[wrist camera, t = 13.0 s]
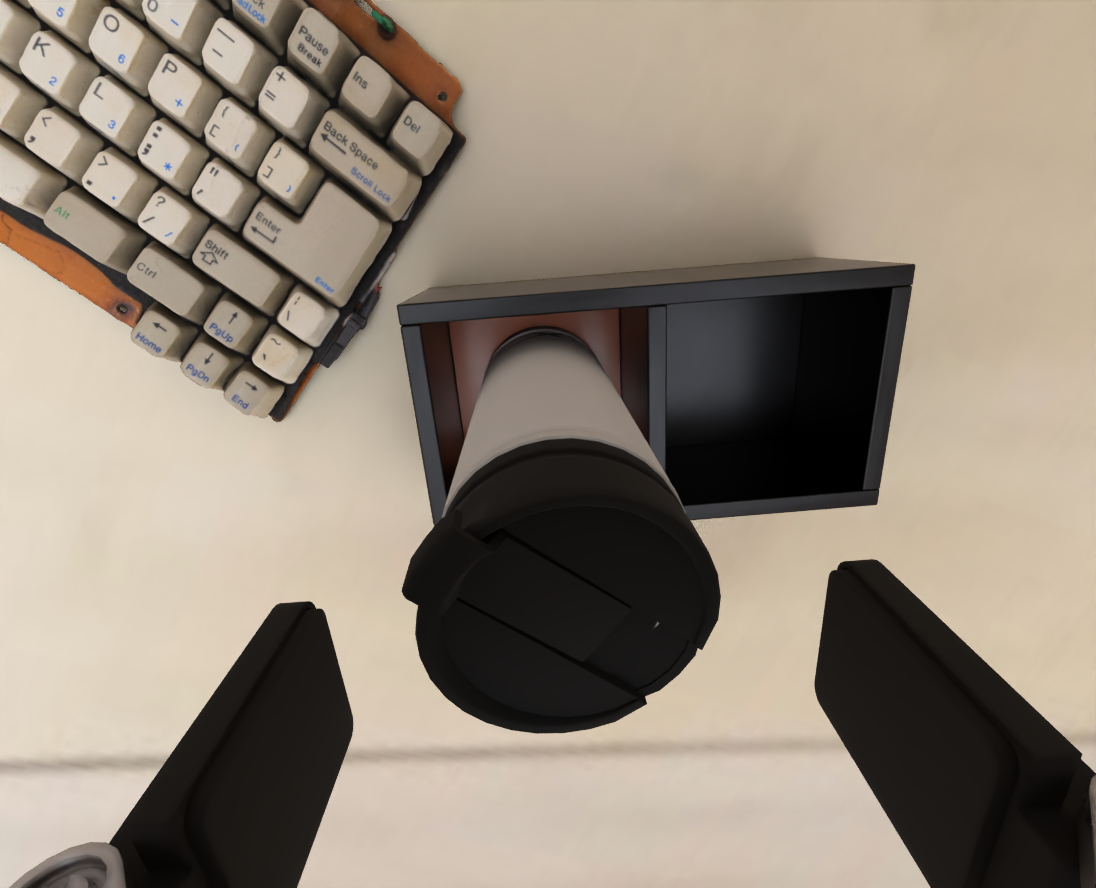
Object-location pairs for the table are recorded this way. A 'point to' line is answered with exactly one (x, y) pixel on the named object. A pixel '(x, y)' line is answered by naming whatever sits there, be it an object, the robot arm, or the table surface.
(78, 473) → the table surface
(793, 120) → the table surface
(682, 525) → the travel mug
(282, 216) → the mechanical keyboard
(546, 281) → the caddy
